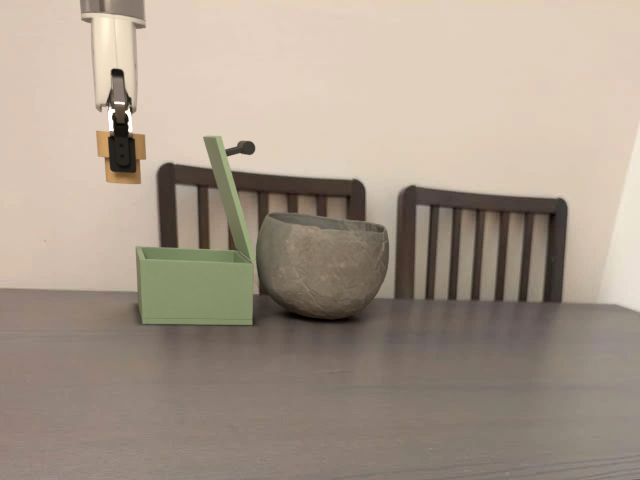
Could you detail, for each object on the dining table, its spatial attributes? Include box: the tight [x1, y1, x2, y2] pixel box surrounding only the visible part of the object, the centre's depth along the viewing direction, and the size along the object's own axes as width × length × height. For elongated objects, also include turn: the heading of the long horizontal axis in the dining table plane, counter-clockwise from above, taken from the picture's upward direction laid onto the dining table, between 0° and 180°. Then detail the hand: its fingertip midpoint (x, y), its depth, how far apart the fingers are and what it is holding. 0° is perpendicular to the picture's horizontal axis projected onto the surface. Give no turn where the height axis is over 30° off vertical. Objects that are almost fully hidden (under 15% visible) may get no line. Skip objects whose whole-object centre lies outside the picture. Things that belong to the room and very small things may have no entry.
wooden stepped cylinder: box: [95, 130, 147, 185], centre depth 95 cm, size 6×6×6 cm
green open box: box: [135, 245, 255, 326], centre depth 109 cm, size 16×14×9 cm
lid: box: [202, 135, 256, 262], centre depth 106 cm, size 16×14×6 cm
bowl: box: [255, 211, 390, 320], centre depth 114 cm, size 20×20×15 cm
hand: (122, 169), depth 95 cm, fingers closed on wooden stepped cylinder, 6 cm apart
